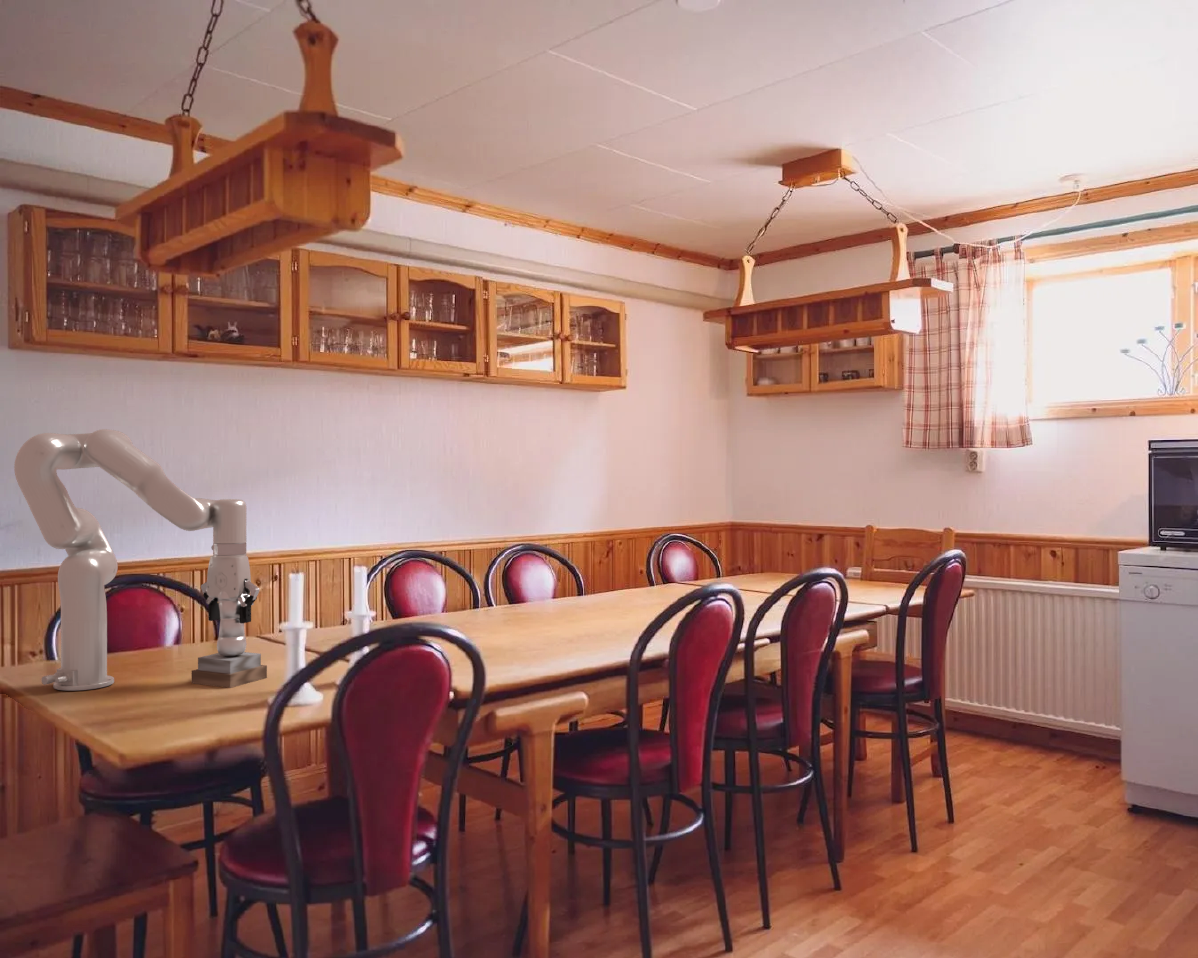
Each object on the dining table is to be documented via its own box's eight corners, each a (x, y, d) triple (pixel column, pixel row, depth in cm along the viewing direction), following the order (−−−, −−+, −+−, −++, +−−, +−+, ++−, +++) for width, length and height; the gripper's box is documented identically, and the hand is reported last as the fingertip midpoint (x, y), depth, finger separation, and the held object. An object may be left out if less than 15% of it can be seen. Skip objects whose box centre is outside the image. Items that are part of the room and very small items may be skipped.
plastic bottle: (212, 655, 231) (212, 572, 231) (239, 652, 236) (239, 570, 236) (223, 659, 227) (223, 575, 226) (251, 655, 231) (251, 573, 231)
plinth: (230, 687, 224) (230, 662, 224) (191, 683, 228) (191, 658, 228) (266, 677, 235) (266, 653, 235) (229, 673, 240) (229, 649, 239)
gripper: (190, 550, 231) (190, 621, 231) (246, 552, 225) (246, 625, 225) (214, 548, 238) (214, 616, 238) (269, 550, 231) (268, 621, 232)
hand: (229, 621), depth 232 cm, fingers open, 9 cm apart
